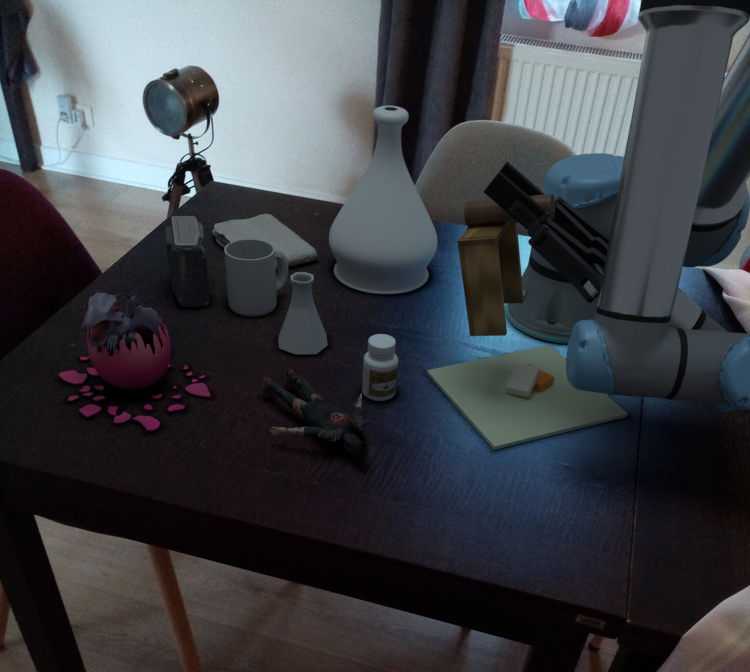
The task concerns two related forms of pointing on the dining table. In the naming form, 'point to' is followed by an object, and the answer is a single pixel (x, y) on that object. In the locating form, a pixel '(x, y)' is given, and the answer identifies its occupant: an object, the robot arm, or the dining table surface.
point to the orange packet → (543, 381)
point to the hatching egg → (126, 354)
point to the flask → (302, 320)
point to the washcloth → (266, 237)
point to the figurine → (320, 415)
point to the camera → (187, 261)
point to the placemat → (521, 398)
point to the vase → (384, 220)
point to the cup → (254, 276)
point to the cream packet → (522, 380)
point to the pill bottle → (380, 368)
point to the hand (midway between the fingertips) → (495, 176)
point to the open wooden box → (492, 263)
